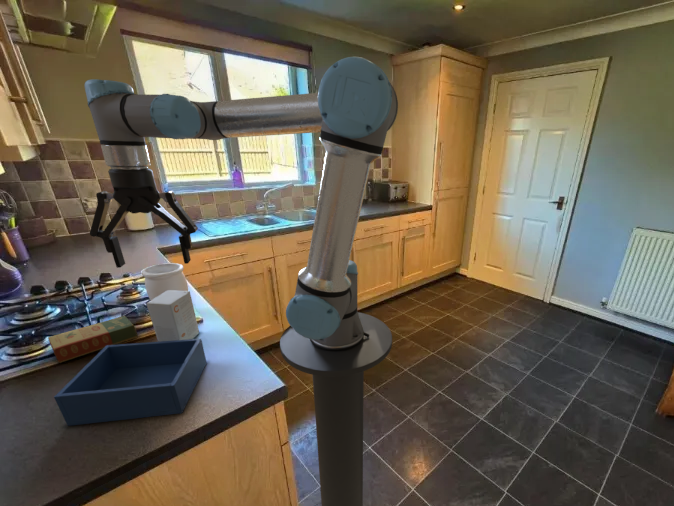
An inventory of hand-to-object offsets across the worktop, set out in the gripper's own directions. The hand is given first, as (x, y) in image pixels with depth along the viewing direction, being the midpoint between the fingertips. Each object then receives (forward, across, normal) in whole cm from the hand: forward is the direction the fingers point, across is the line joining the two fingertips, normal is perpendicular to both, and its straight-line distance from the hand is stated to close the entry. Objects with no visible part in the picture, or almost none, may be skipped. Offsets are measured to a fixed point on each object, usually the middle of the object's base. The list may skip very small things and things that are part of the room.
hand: (155, 263), depth 77 cm
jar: (+23, +5, -19) cm, 30 cm away
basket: (+23, +2, +17) cm, 29 cm away
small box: (+23, 0, -3) cm, 23 cm away
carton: (+23, +20, -6) cm, 31 cm away
